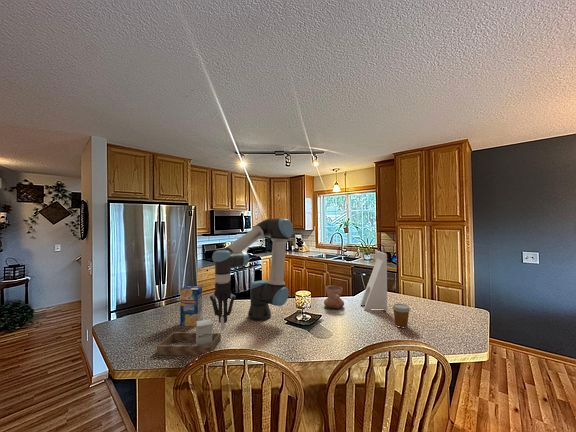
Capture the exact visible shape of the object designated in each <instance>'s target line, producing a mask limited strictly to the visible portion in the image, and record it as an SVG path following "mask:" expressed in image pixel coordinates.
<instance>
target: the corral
mask: <svg viewBox="0 0 576 432" xmlns="http://www.w3.org/2000/svg"><path fill="white" fill-rule="evenodd" d="M221 333H222V332H212V343H211V344H210V346H196V345H176V344H175V345H174V344H173V345H172V343H173V342H174V341H181V342H183V341H185V342H189V341H190V342H192V341H193V342H196V331H195V332H191V331H190V332H189V331H172V332H171V333H170V334H169V335H167V336H166V337H165V339H163V340H162V341H161V342H160V343H159V344H157V345H156V355H159V354H160V356H161V355H164V356H165V355H166V356H167V355H168V356H200V355H202V354H205V353H207V352H211V351H213V352H214V351H215V350H216V348H217V347H218V345H219V344H220V343H221V340H222V337H221V336H222V335H221ZM170 344H171V345H170ZM200 357H201V356H200Z"/></svg>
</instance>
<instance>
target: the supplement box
mask: <svg viewBox="0 0 576 432" xmlns="http://www.w3.org/2000/svg"><path fill="white" fill-rule="evenodd" d="M195 332H196V341H195V346H210V344H211V343H212V342H213V341H212V333H213V322H212V319H211V318H209V319H202V320H201V321H196V326H195Z"/></svg>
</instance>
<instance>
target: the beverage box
mask: <svg viewBox="0 0 576 432" xmlns="http://www.w3.org/2000/svg"><path fill="white" fill-rule="evenodd" d="M179 295H180V296H179V300H180V301H179V310H180V313H179V314H180V315H179V318H180V319H179V320H180V322H179V323H180V327H181V326H182V327H196V321H201V320H203V286H198V285H195V286H193V285H192V286H190V285H189V286H187V285H186V286H184V287H182V288H180V289H179Z"/></svg>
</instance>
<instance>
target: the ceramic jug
mask: <svg viewBox="0 0 576 432" xmlns="http://www.w3.org/2000/svg"><path fill="white" fill-rule="evenodd" d="M325 293H326V295H327V298H325V299H324V301H323V304H324V305H325V307H326V308H328V309H334V310H335V309H336V310H337V309H341V308H343V307H344V306H345V302H344V300H343V299H342V298H341V297H342V293H343V287H341V286H338V285H327V286H325Z"/></svg>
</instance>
